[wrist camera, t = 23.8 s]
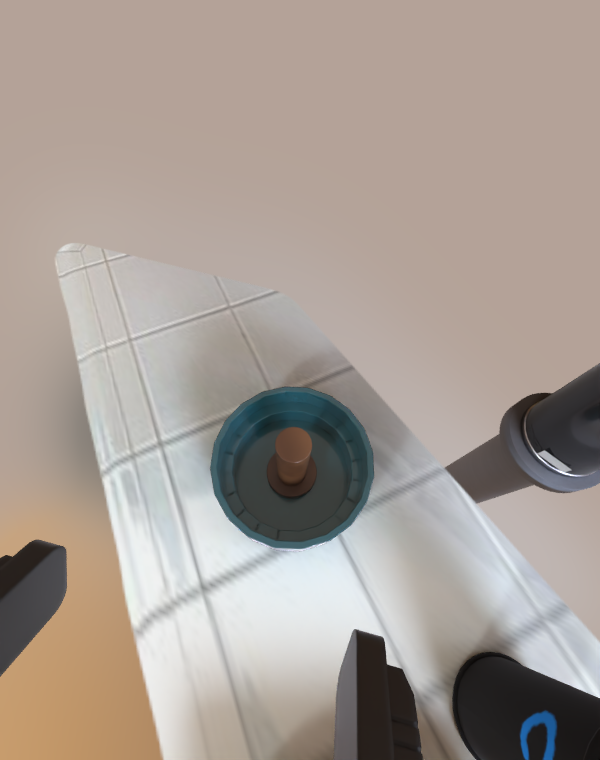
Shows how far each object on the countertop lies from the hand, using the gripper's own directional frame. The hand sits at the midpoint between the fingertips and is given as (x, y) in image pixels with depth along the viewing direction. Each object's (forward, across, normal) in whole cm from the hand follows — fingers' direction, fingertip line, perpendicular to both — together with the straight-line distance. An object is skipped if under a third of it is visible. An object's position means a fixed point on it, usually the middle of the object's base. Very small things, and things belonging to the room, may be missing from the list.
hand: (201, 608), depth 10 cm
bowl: (+28, 0, +13) cm, 30 cm away
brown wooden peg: (+27, 0, +13) cm, 30 cm away
